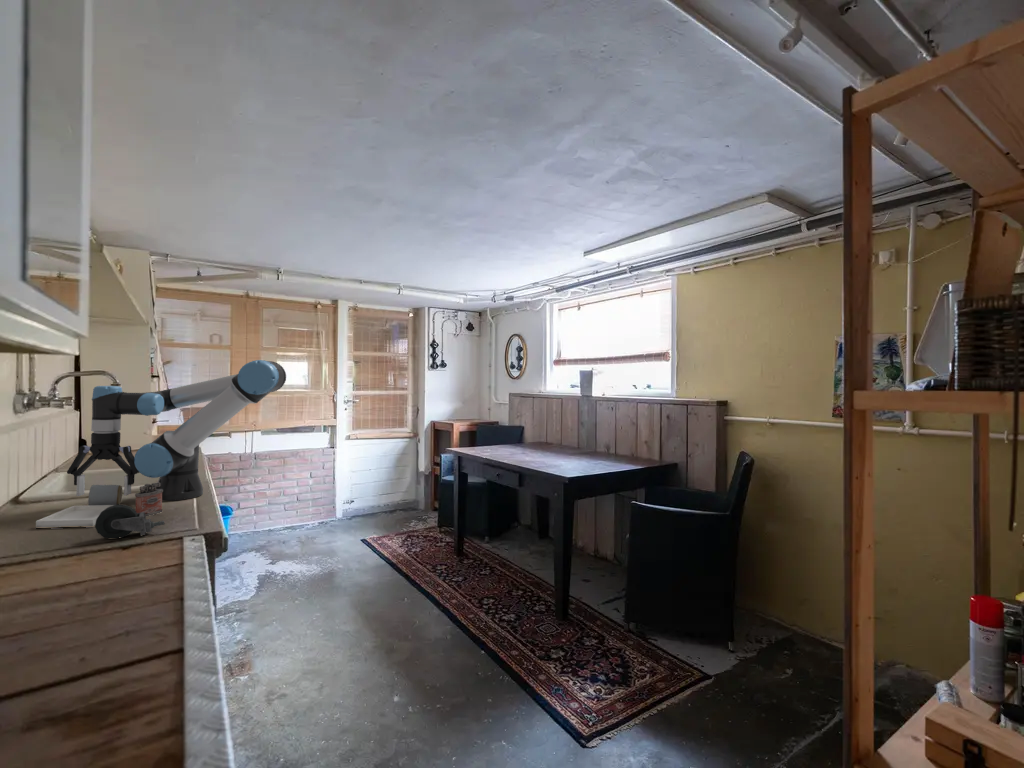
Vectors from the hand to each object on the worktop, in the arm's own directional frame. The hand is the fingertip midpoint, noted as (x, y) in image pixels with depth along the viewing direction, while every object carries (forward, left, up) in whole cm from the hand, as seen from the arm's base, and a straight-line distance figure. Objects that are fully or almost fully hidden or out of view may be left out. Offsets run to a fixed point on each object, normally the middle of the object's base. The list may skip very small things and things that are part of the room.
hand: (104, 494), depth 161 cm
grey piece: (0, -1, -4) cm, 4 cm away
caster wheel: (-23, +32, -4) cm, 40 cm away
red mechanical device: (-18, +11, -4) cm, 22 cm away
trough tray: (-2, +15, -4) cm, 16 cm away
